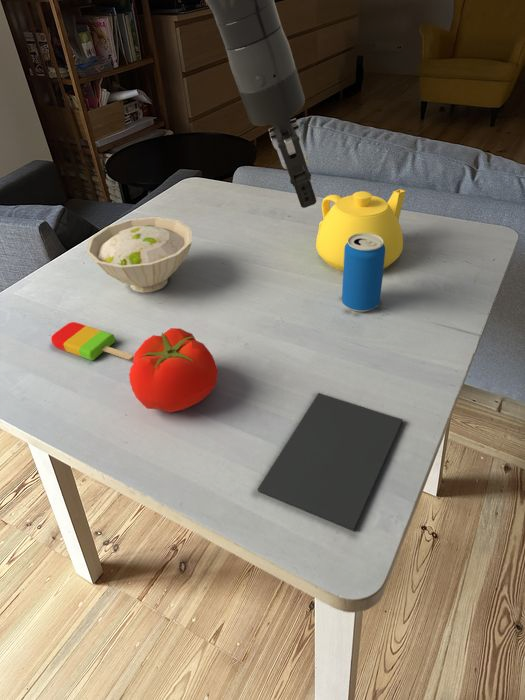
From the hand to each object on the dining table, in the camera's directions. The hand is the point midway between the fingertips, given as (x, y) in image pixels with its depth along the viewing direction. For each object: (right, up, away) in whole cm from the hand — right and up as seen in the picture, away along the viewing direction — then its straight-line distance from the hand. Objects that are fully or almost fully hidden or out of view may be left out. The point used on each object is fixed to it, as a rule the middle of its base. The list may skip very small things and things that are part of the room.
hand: (304, 191), depth 76 cm
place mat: (+3, -36, -9) cm, 37 cm away
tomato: (-18, -29, +1) cm, 34 cm away
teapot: (+14, -3, +31) cm, 34 cm away
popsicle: (-33, -23, +10) cm, 41 cm away
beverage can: (+11, -15, +17) cm, 25 cm away
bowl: (-27, -10, +26) cm, 39 cm away
